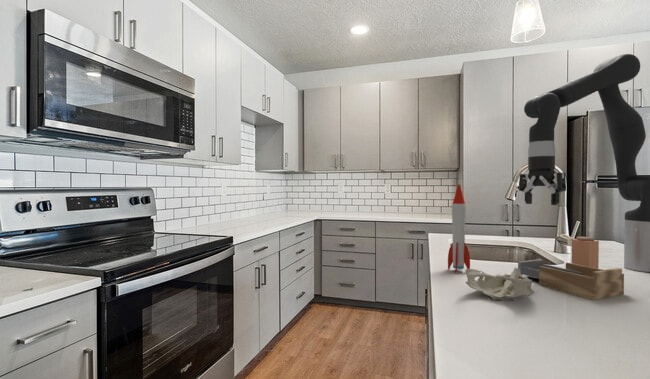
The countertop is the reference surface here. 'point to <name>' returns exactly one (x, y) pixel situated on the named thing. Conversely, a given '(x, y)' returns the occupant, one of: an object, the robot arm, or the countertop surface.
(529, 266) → the tray
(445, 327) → the countertop surface
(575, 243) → the tin
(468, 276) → the anatomical model
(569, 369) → the countertop surface
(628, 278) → the countertop surface
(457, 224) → the toy rocket
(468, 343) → the countertop surface
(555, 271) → the dock
